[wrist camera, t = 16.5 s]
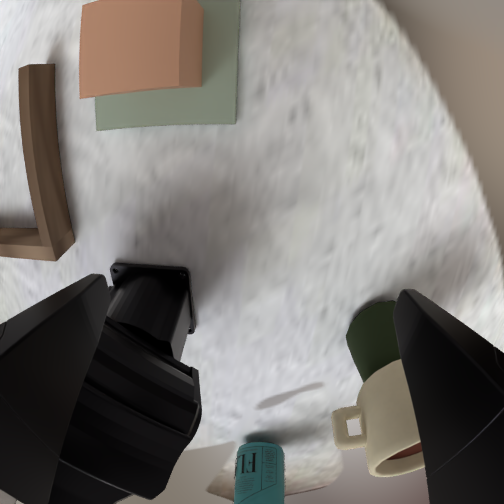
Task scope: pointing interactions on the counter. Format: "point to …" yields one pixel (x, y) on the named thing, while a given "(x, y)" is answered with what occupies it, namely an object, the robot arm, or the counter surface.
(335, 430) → the character mug
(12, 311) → the counter surface
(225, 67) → the mat
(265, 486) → the beverage bottle
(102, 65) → the block
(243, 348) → the counter surface
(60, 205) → the stall
